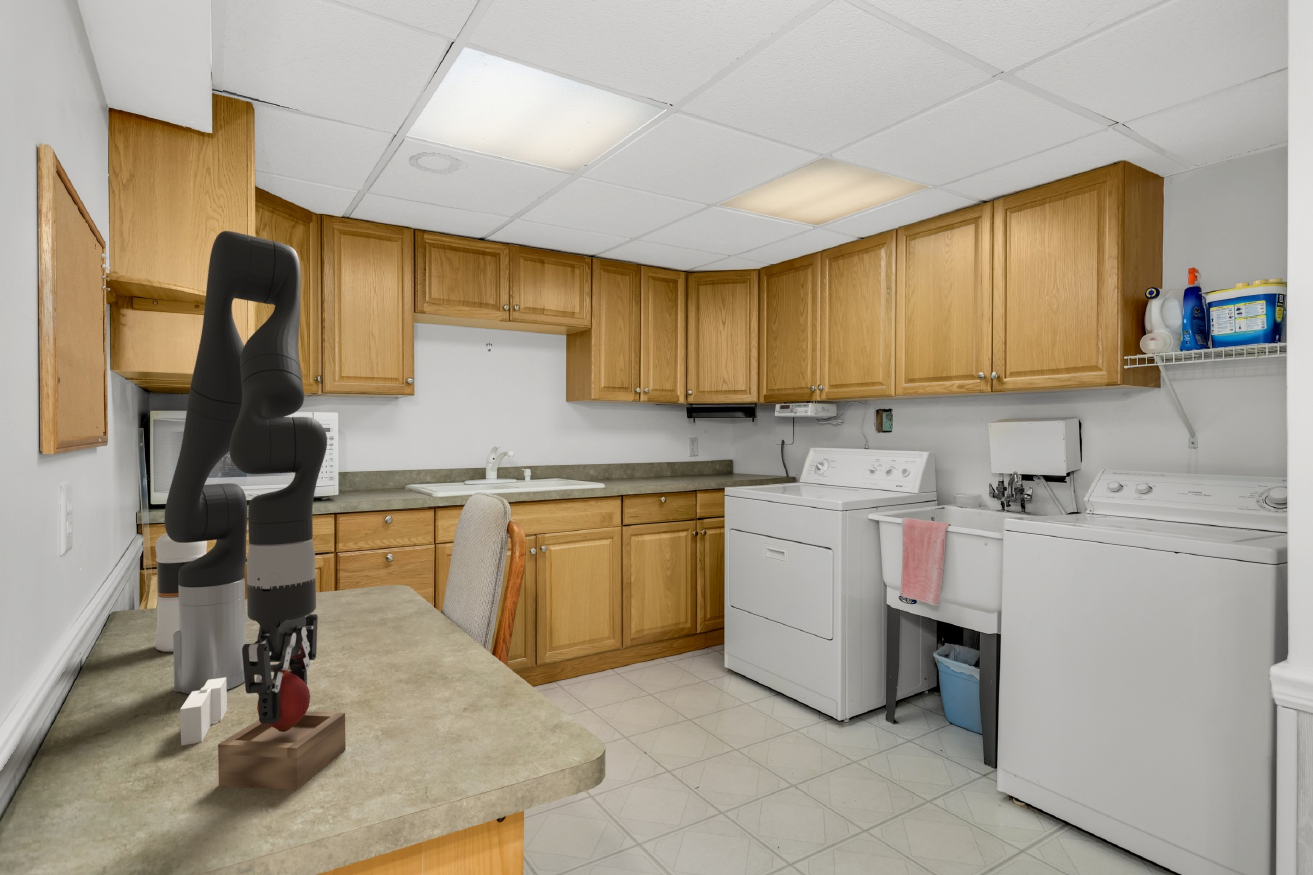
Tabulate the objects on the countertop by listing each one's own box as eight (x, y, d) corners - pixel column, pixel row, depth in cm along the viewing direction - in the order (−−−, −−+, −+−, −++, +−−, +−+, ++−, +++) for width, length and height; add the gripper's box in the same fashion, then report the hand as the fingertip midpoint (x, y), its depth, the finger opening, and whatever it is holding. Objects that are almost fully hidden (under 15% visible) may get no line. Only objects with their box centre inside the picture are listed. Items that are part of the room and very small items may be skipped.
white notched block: (193, 756, 90) (193, 712, 90) (127, 746, 93) (126, 704, 93) (284, 710, 104) (283, 673, 104) (224, 703, 107) (223, 667, 107)
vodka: (170, 656, 129) (167, 496, 129) (144, 648, 134) (141, 494, 133) (221, 642, 137) (218, 492, 137) (195, 636, 142) (193, 490, 141)
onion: (271, 722, 89) (270, 660, 89) (318, 720, 89) (317, 658, 89) (248, 742, 83) (247, 676, 83) (298, 740, 83) (297, 674, 83)
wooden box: (218, 787, 82) (217, 744, 82) (274, 748, 92) (274, 709, 91) (297, 792, 80) (296, 747, 80) (345, 752, 90) (345, 712, 90)
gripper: (280, 565, 93) (282, 689, 93) (216, 591, 78) (218, 737, 79) (337, 565, 93) (339, 688, 93) (283, 590, 79) (285, 735, 79)
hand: (284, 710), depth 86 cm, fingers open, 6 cm apart
